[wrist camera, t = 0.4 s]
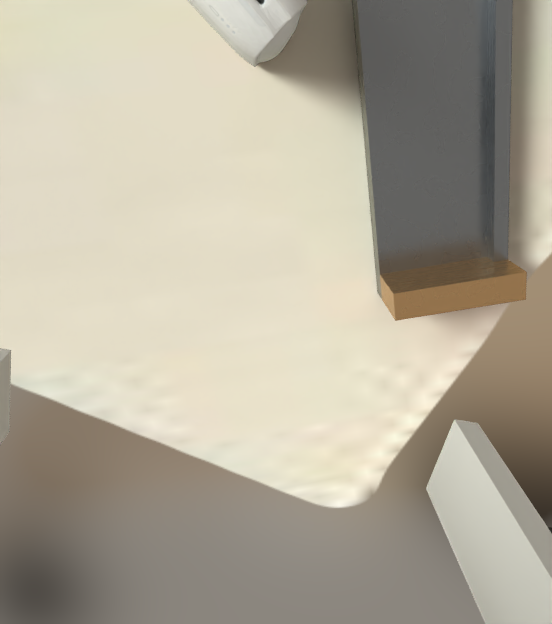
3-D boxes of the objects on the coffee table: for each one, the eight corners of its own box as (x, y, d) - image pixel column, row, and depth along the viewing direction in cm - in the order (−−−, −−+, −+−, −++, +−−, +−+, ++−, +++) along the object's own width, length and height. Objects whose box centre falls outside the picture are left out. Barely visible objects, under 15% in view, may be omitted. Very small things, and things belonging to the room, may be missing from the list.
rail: (330, -249, 29) (348, -321, 24) (495, -279, 29) (547, -357, 24) (377, 292, 41) (395, 320, 36) (491, 273, 41) (525, 299, 36)
